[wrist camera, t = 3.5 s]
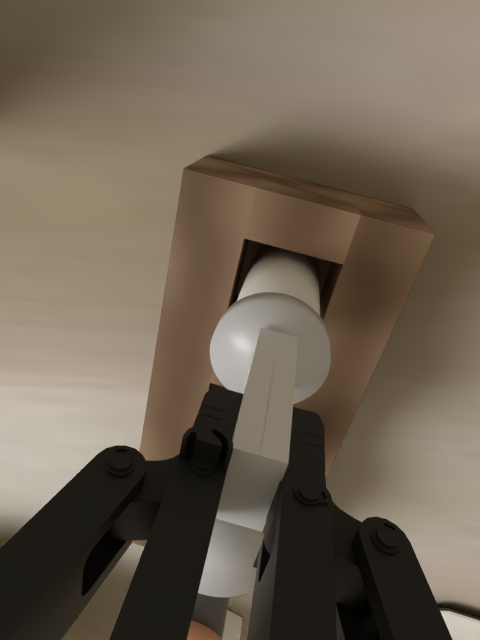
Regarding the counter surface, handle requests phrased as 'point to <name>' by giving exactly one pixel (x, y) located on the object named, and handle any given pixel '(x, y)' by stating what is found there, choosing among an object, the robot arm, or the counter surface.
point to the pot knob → (208, 618)
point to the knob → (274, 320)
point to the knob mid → (230, 560)
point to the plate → (461, 624)
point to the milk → (232, 626)
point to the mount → (231, 270)
